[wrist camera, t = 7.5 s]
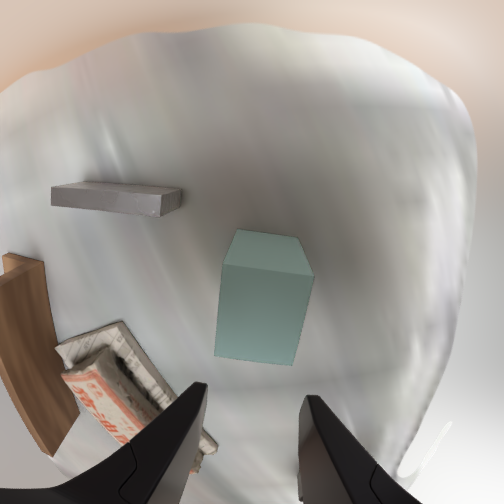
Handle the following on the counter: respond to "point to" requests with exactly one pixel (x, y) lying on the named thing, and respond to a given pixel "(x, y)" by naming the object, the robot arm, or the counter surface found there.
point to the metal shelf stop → (117, 198)
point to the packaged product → (120, 384)
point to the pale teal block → (262, 298)
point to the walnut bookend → (33, 354)
